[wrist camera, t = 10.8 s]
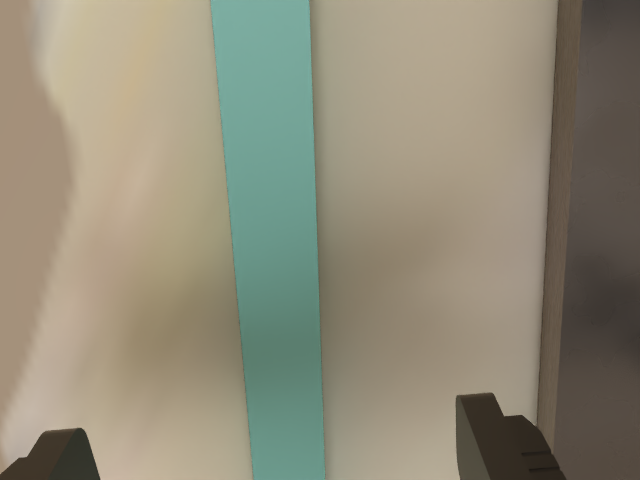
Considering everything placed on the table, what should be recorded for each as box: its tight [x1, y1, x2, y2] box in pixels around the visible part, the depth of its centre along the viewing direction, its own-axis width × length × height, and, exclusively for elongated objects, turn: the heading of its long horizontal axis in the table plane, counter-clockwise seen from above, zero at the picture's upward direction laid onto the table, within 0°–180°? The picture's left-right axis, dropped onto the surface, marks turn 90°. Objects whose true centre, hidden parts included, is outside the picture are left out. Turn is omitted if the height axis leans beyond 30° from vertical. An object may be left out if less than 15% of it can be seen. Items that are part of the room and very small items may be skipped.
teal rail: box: [210, 0, 325, 480], centre depth 19 cm, size 2×22×2 cm, turn 2°
